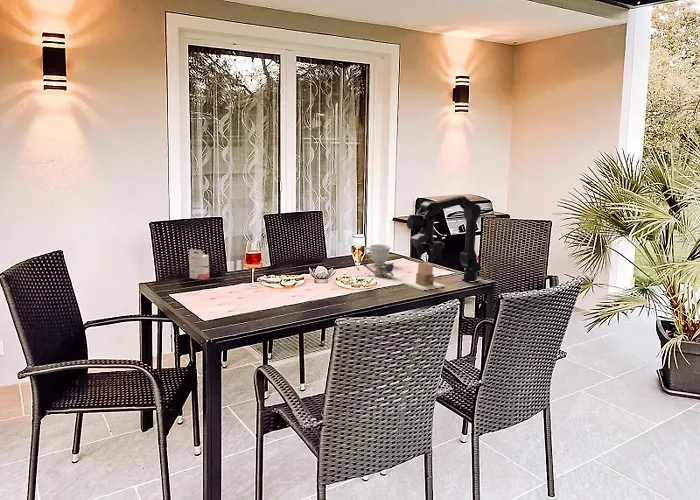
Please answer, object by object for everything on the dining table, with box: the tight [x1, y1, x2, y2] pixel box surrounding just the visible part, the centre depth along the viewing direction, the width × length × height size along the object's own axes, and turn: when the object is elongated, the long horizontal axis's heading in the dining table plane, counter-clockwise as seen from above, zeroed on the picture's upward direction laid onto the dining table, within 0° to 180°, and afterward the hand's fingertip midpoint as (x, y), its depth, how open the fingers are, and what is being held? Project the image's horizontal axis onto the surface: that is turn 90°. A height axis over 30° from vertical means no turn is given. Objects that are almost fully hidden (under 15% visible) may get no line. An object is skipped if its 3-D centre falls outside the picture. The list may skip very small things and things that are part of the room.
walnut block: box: [415, 272, 435, 286], centre depth 286 cm, size 6×6×5 cm
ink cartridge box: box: [188, 248, 210, 281], centre depth 287 cm, size 9×5×15 cm, turn 68°
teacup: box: [364, 244, 392, 266], centre depth 328 cm, size 12×15×10 cm
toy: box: [359, 261, 394, 280], centre depth 303 cm, size 9×18×10 cm, turn 74°
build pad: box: [404, 280, 446, 292], centre depth 287 cm, size 14×14×1 cm
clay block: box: [417, 261, 434, 276], centre depth 285 cm, size 5×5×5 cm
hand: (425, 259), depth 284 cm, fingers open, 9 cm apart
